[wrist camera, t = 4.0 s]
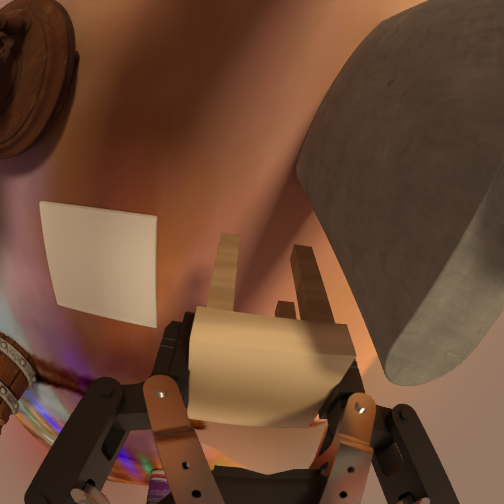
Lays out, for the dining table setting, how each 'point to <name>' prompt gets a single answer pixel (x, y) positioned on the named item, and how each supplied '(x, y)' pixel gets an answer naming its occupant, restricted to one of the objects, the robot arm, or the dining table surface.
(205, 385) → the stool
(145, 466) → the dining table surface
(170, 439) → the robot arm
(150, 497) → the pill bottle
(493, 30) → the hip flask
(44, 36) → the scroll
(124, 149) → the dining table surface
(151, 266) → the mat
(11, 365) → the mug
